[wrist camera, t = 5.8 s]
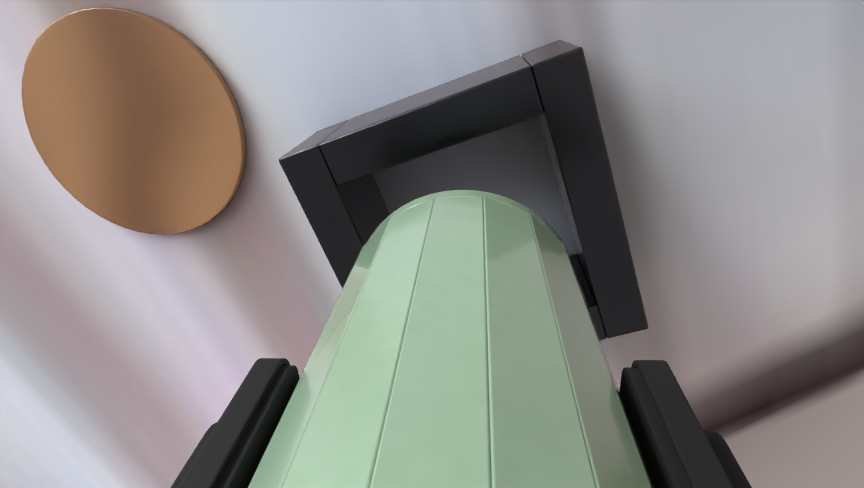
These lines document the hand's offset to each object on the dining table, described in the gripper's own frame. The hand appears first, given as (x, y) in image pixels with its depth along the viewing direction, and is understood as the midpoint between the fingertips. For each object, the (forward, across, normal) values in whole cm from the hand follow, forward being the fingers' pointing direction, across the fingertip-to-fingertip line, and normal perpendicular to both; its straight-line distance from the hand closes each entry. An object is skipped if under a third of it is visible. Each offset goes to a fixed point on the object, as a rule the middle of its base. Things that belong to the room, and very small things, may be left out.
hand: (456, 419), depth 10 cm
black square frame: (+14, 0, 0) cm, 14 cm away
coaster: (+14, +15, -4) cm, 20 cm away
